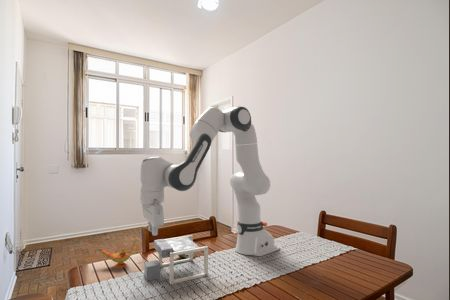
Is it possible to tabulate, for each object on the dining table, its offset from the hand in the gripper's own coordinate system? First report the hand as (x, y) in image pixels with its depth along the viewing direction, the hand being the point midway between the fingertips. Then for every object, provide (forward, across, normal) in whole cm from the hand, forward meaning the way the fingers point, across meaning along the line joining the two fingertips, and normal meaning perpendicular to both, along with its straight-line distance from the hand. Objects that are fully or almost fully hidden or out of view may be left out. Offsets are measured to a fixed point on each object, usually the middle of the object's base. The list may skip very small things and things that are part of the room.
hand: (153, 233), depth 99 cm
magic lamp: (+16, +17, +12) cm, 26 cm away
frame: (+17, -1, -11) cm, 20 cm away
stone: (+17, 0, +1) cm, 17 cm away
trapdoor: (+8, -1, -9) cm, 12 cm away
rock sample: (+17, +12, -18) cm, 28 cm away
